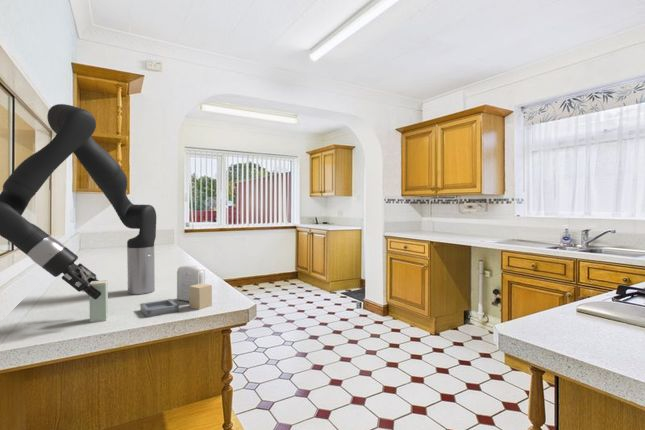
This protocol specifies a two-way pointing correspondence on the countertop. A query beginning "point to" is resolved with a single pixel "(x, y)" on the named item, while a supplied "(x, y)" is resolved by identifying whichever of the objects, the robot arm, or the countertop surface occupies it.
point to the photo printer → (188, 280)
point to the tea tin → (99, 302)
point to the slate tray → (159, 308)
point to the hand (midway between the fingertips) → (101, 293)
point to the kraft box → (200, 296)
